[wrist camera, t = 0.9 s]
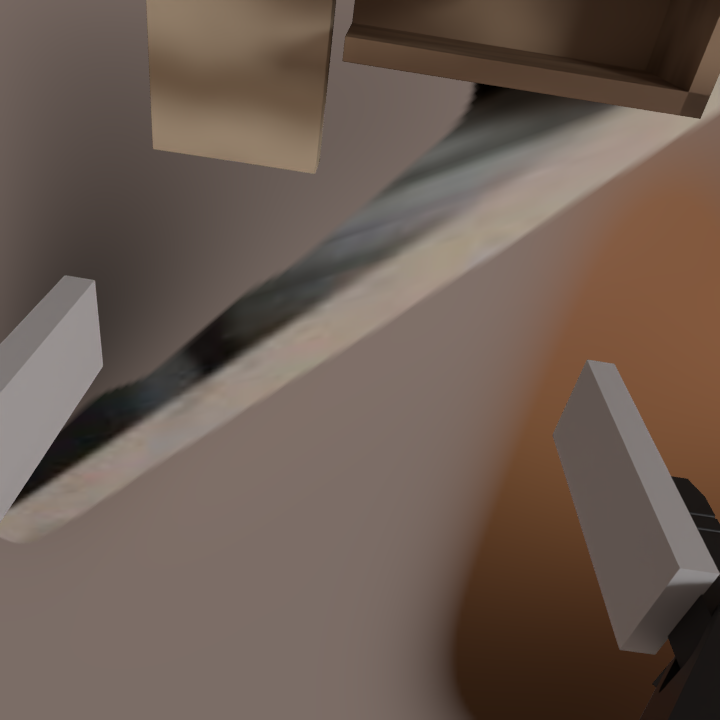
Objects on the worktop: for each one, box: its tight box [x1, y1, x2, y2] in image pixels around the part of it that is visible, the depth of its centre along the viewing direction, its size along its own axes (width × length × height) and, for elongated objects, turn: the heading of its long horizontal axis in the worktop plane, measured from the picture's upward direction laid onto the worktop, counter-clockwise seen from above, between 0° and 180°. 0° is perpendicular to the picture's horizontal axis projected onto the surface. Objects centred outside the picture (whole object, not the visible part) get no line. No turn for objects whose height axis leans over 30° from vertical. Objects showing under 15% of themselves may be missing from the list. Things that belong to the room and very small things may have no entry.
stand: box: [146, 0, 336, 174], centre depth 33 cm, size 9×9×2 cm
